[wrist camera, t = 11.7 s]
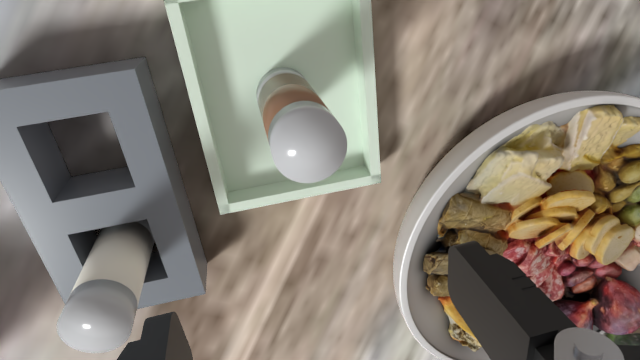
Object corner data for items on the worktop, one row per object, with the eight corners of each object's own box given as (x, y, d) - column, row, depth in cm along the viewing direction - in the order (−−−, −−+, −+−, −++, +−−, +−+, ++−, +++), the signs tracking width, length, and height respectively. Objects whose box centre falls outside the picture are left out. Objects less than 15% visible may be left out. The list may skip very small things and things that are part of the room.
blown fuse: (251, 71, 31) (265, 119, 21) (306, 63, 31) (343, 105, 22) (261, 124, 33) (278, 189, 23) (312, 115, 33) (350, 175, 23)
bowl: (319, 270, 41) (338, 332, 34) (551, 4, 34) (635, 14, 27) (502, 367, 53) (543, 426, 47) (699, 188, 46) (783, 226, 39)
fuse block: (-11, 80, 28) (-44, 96, 25) (145, 56, 29) (134, 68, 26) (89, 288, 36) (74, 322, 33) (207, 263, 38) (205, 293, 34)
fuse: (96, 212, 34) (45, 311, 24) (148, 202, 34) (118, 294, 24) (113, 253, 35) (72, 359, 26) (162, 242, 36) (140, 344, 26)
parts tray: (166, -12, 28) (161, -10, 26) (358, -37, 29) (369, -38, 27) (220, 199, 35) (220, 214, 33) (371, 169, 37) (381, 182, 35)
